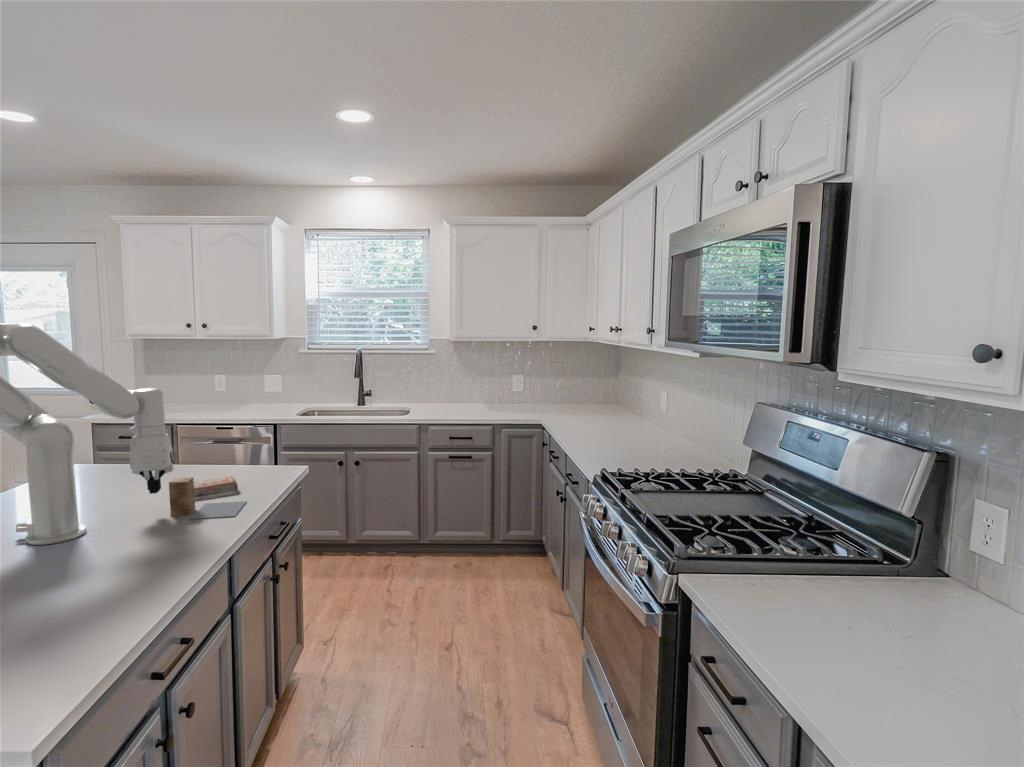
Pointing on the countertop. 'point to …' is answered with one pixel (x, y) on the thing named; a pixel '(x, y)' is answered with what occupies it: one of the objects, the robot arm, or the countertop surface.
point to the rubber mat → (218, 510)
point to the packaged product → (215, 488)
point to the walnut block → (182, 496)
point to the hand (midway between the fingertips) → (154, 492)
